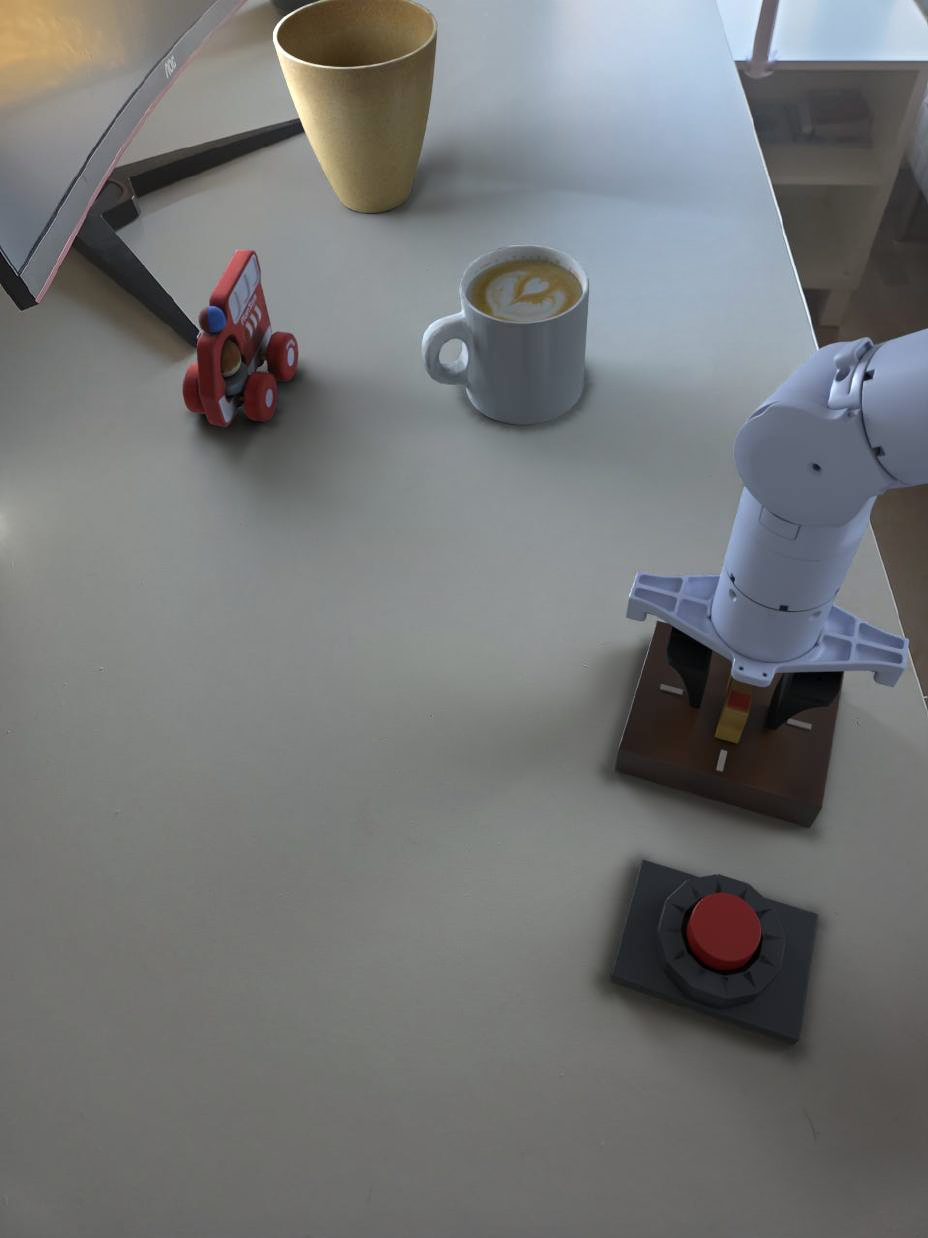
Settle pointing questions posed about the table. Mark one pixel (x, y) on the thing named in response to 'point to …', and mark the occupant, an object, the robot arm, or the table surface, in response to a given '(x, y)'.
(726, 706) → the yellow rectangular block
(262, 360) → the toy fire truck
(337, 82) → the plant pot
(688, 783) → the plate
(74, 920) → the table surface
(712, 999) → the dark grey button mount
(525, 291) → the coffee mug
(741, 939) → the bell button
